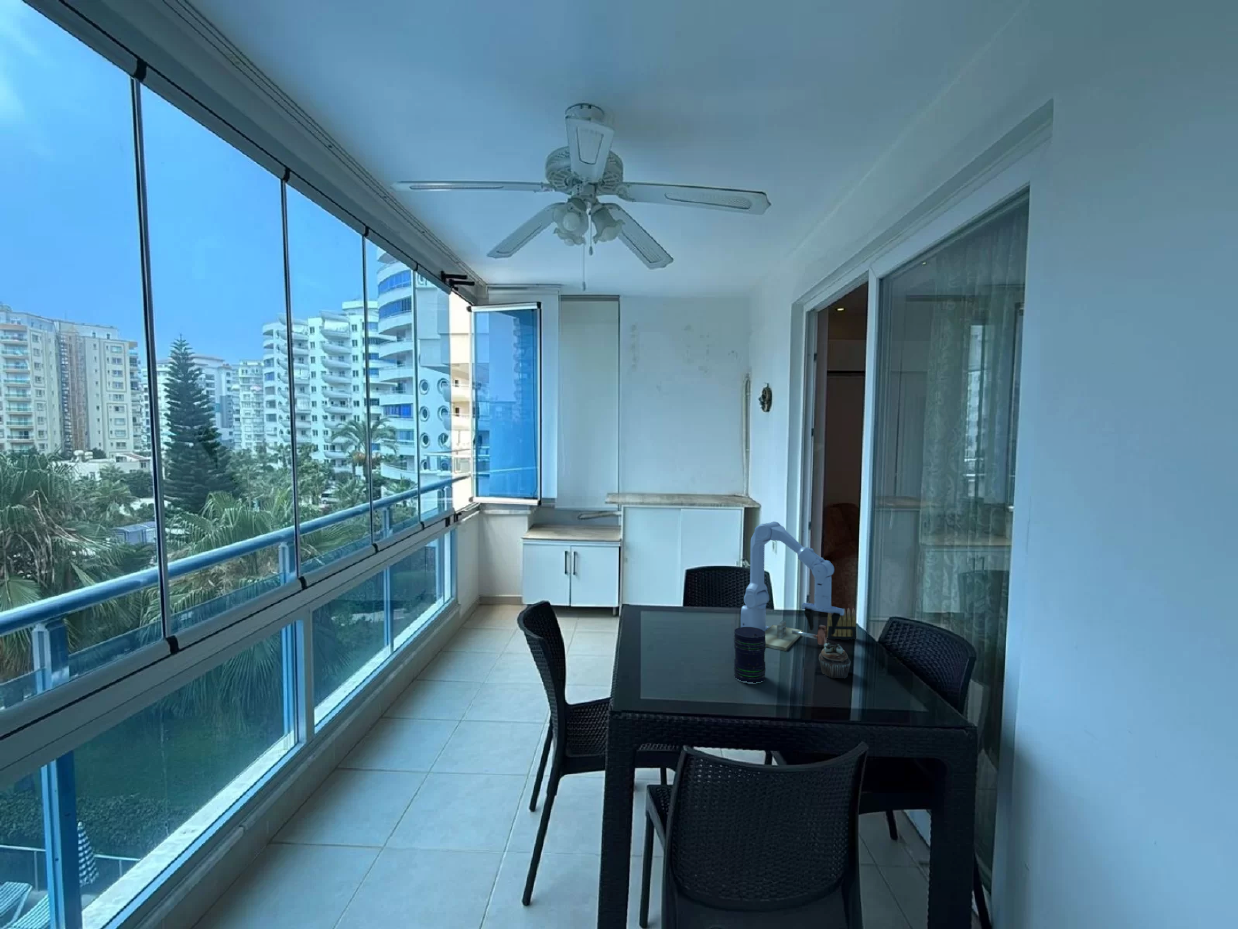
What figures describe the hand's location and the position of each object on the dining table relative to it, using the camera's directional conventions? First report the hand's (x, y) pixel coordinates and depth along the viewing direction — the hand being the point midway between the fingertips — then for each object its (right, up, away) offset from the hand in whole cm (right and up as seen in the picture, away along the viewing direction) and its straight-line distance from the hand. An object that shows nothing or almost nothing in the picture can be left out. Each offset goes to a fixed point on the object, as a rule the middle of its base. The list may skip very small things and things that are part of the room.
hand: (822, 631), depth 204 cm
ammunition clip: (+10, -6, +9) cm, 15 cm away
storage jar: (-33, -7, -26) cm, 42 cm away
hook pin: (-4, -5, +3) cm, 7 cm away
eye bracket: (-13, -6, +8) cm, 16 cm away
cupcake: (-5, -7, -23) cm, 25 cm away
